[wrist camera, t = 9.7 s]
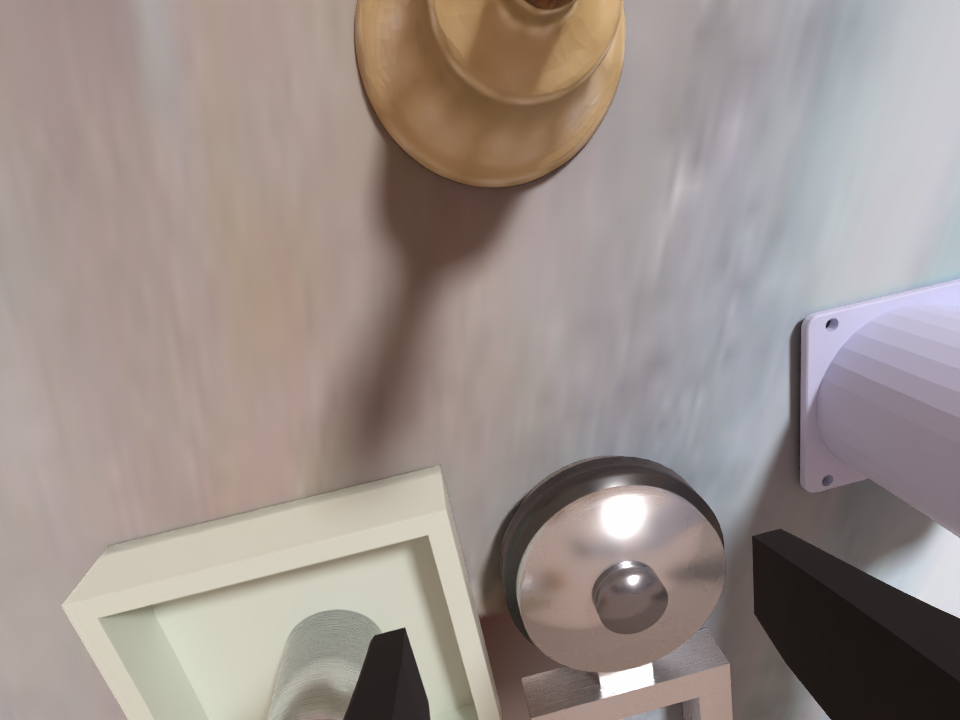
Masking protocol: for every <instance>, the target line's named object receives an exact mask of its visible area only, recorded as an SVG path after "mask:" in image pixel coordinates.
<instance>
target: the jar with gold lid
mask: <svg viewBox="0 0 960 720" xmlns="http://www.w3.org/2000/svg"><path fill="white" fill-rule="evenodd" d="M381 633H382V631H381V630H380V628H379V627H378V626H377V624H376V623H375V622H373V621H372V620H371V619H370V618H368V617H366V616H364V615H362V614H360V613H357V612H354V611H350V610H340V609H335V610H326V611H322V612H318V613H315V614H313V615H310V616H309V617H307V618H305V619H303V620H302V621H301V622H299V623H298V624H297V625H296V626H295V627H294V628H293V630H292V631H291V632H290V634H289V636H288V638H287V640H286V644H285V648H284V652H283V657H282V661H281V665H280V669H279V673H278V677H277V681H276V685H275V689H274V693H273V697H272V701H271V705H270V710H269V714H268V718H267V720H343V718H344V716H345V713H346V711H347V708H348V705H349V703H350V700H351V697H352V695H353V692H354V689H355V686H356V684H357V681H358V678H359V675H360V672H361V669H362V666H363V663H364V660H365V657H366V654H367V651H368V647H369V644H370V641H371V640H372V638H373V637H374V635H378V634H381Z"/></svg>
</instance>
